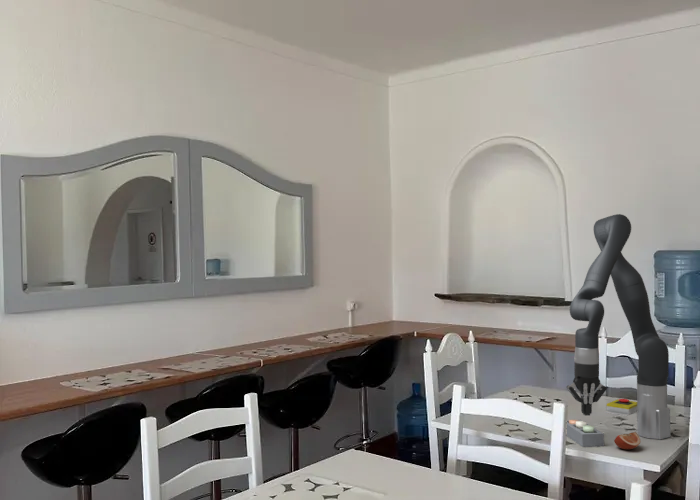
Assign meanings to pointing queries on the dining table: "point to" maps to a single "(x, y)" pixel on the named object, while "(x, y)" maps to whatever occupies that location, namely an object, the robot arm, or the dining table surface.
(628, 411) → the emergency button
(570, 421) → the terracotta button
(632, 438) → the fruit slice
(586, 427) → the sage button
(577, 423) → the cream button
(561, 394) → the dining table surface
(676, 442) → the dining table surface
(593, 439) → the console
